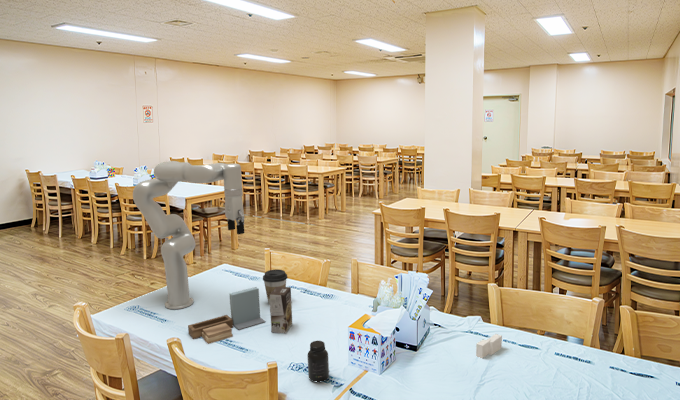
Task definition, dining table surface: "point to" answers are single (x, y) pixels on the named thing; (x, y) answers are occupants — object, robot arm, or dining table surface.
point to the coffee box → (281, 309)
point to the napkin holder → (488, 346)
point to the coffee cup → (274, 281)
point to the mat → (249, 323)
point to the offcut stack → (217, 333)
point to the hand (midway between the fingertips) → (236, 231)
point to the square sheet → (245, 305)
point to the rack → (208, 325)
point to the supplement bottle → (318, 361)
